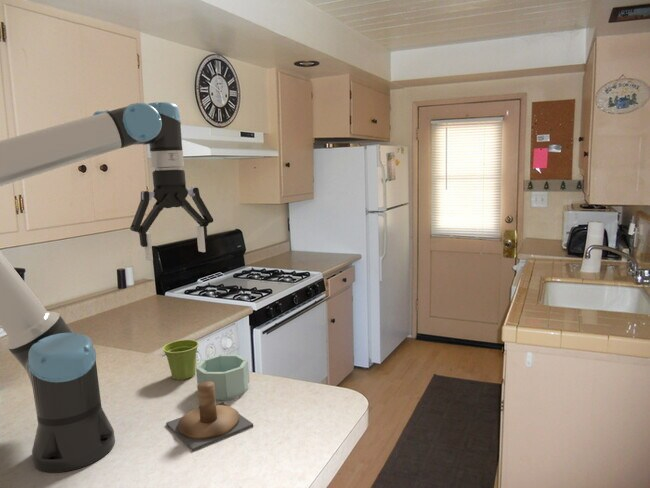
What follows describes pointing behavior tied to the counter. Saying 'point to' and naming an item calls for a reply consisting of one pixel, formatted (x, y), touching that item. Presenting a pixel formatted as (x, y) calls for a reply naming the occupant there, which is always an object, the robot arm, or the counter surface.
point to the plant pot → (181, 358)
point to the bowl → (225, 375)
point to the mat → (200, 443)
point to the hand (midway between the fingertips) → (176, 255)
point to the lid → (208, 416)
